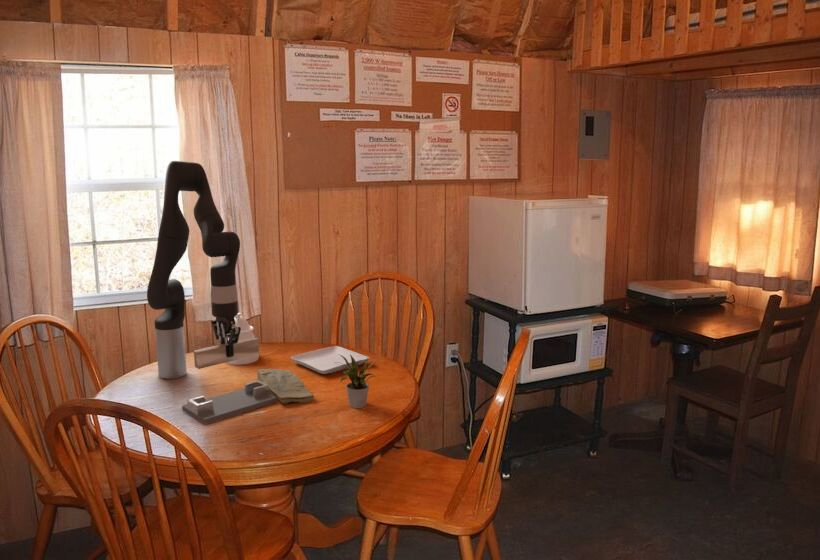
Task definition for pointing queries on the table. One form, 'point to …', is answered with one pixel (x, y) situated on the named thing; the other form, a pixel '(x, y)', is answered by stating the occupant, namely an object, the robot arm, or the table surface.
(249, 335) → the honey pot
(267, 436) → the table surface
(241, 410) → the base board
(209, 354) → the slat
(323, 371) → the salad plate
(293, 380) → the stone slab
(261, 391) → the end caps
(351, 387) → the house plant
